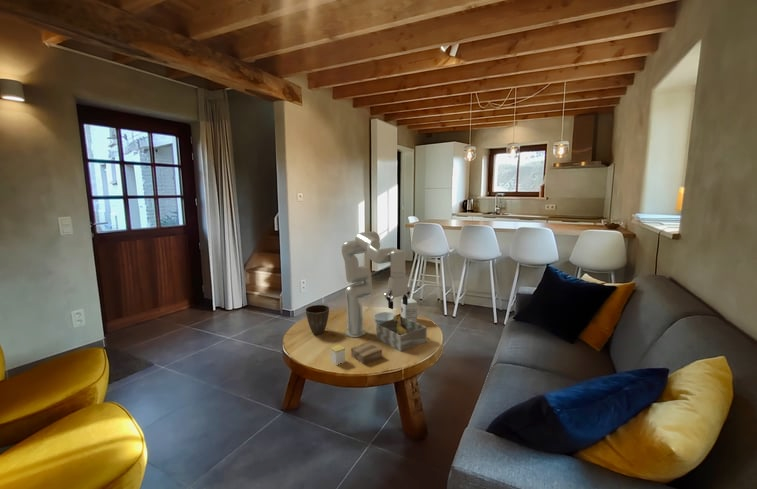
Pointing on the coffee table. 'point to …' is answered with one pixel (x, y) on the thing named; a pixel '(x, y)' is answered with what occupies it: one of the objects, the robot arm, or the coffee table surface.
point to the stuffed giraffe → (399, 325)
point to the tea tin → (337, 354)
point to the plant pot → (317, 318)
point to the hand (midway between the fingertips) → (398, 306)
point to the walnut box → (366, 353)
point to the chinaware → (383, 317)
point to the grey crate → (401, 342)
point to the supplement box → (409, 310)
